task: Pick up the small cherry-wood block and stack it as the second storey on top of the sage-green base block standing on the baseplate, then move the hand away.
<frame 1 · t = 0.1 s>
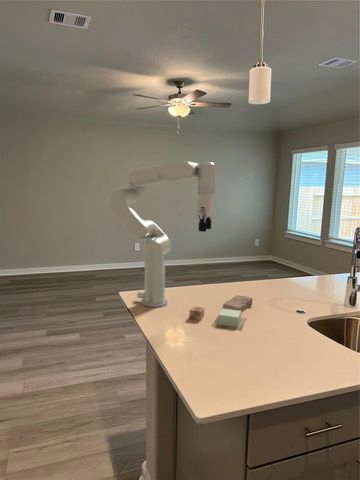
hand: (205, 230, 160), 37 cm above the worktop, fingers open, 9 cm apart
brick: (237, 310, 167), on the worktop
baseplate: (229, 324, 148), on the worktop
base block: (229, 322, 148), point 1 cm above the worktop, touching baseplate
cherry block: (196, 320, 152), on the worktop
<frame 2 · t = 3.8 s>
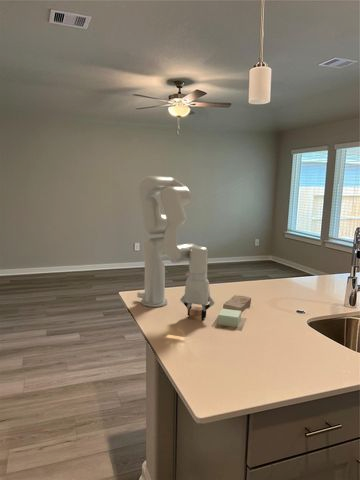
hand: (196, 317, 152), 1 cm above the worktop, fingers closed on cherry block, 4 cm apart
cherry block: (196, 320, 152), on the worktop, touching gripper
everything else where it was.
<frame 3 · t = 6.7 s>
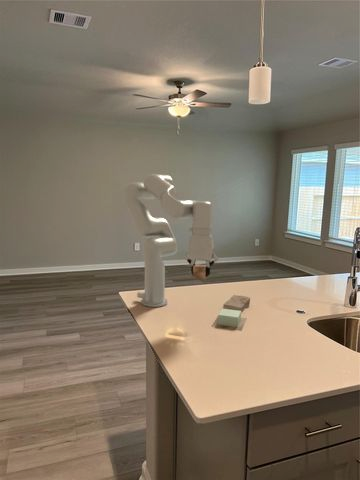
hand: (200, 275, 149), 20 cm above the worktop, fingers closed on cherry block, 4 cm apart
cherry block: (200, 277, 149), point 19 cm above the worktop, touching gripper
everything else where it was.
when the fingers open (7 cm above the worktop, at t = 9.8 s): cherry block drops 1 cm, resting on base block.
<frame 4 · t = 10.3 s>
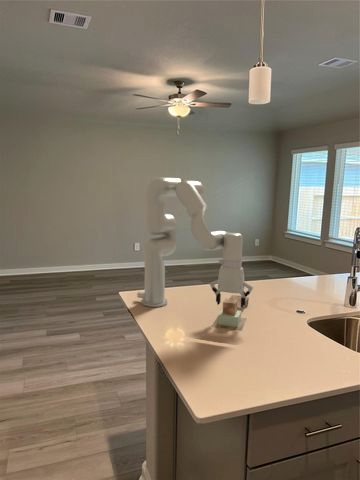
hand: (230, 305, 147), 8 cm above the worktop, fingers open, 9 cm apart
base block: (229, 322, 148), point 1 cm above the worktop, touching baseplate, cherry block
cherry block: (229, 312, 147), point 5 cm above the worktop, touching base block
everything else where it was.
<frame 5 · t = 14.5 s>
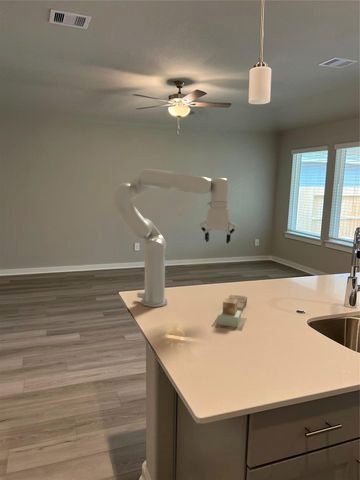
hand: (217, 242, 168), 30 cm above the worktop, fingers open, 9 cm apart
at the end: cherry block 0.1 cm off-centre on the base block, point 4.0 cm above the base block's base; cherry block tilted 0°; the gripper is holding nothing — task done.
